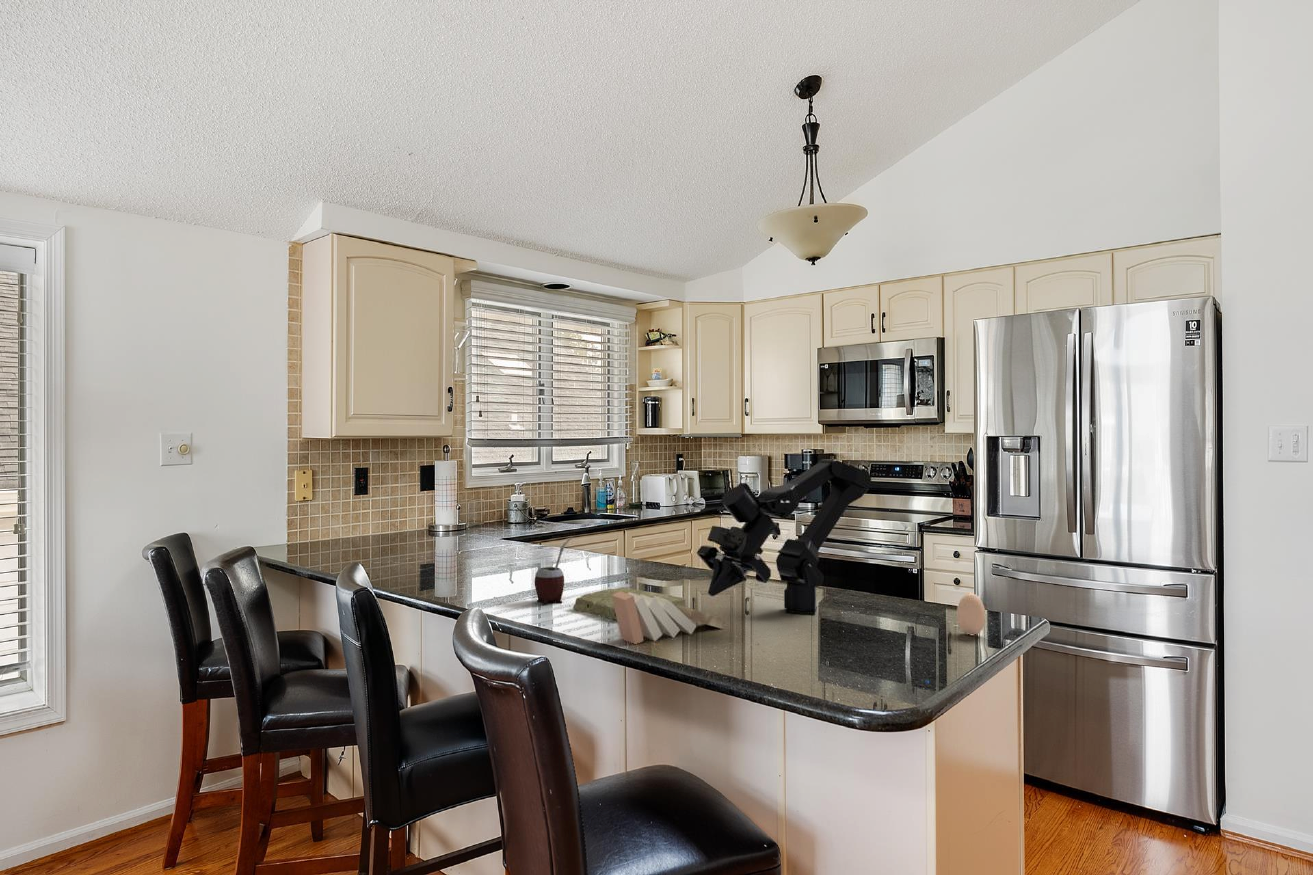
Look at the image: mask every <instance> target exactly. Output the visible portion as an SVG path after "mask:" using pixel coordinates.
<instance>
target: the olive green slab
mask: <svg viewBox="0 0 1313 875" xmlns="http://www.w3.org/2000/svg"><path fill="white" fill-rule="evenodd" d="M620 591H621V592H623V593H626V594H628V593H629V592H631V593H634V594H637V595H641V594H642V595H645V596H648V597H651V598H653V597H654V596H658V597H661V598H664V599H667V600H669V601H670V602H671V603H672V604H673V605H674V606H676V607H677V605H681V606H684V607H687V604H686V603H687V602H686V598H685V597H680V596H675V595H669V594H666V593H658V592H651V591H646V590H639V589H631V588H629V587H624V586H622V587H621V586H620V587H617V588H608V589H603V590H597V591H595V592H592V593H590V592H589V593H586V594H583V595H581V596H580V597H577V598H576V599H575V601H574V602H575V603H574V604H573V606H572V609H573V610H574V611H575V610H576V611H575V612H579V611H581V613H588V614H591V615H594V616H598V615H600V616H599V617H600V618H603V617H605V618H604V619H608V618H609V620H612V619H615V620H614V621H617V617H616V613H615V608H614V604H613V599H612V595H613V594H615V593H618V592H620Z"/></svg>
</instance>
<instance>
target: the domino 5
mask: <svg viewBox="0 0 1313 875" xmlns="http://www.w3.org/2000/svg"><path fill="white" fill-rule="evenodd" d="M677 608H678V609H679V610H680V611H681V612H682V613H683V614H684V615H685V616H686V617H687V618H688V619H689V620H691V621H694V622H698V623H701V624H704V625H707V626H711V627H715V628H718V629H721V630H723V629H724V627H725V623H726V618H722V617H720V616H717V615H713V614H711V613H707V612H704V611H702V610H701V611H700V610H697V609H693V608H691V607H687V606H686V607H684V606H681V605H677Z"/></svg>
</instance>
